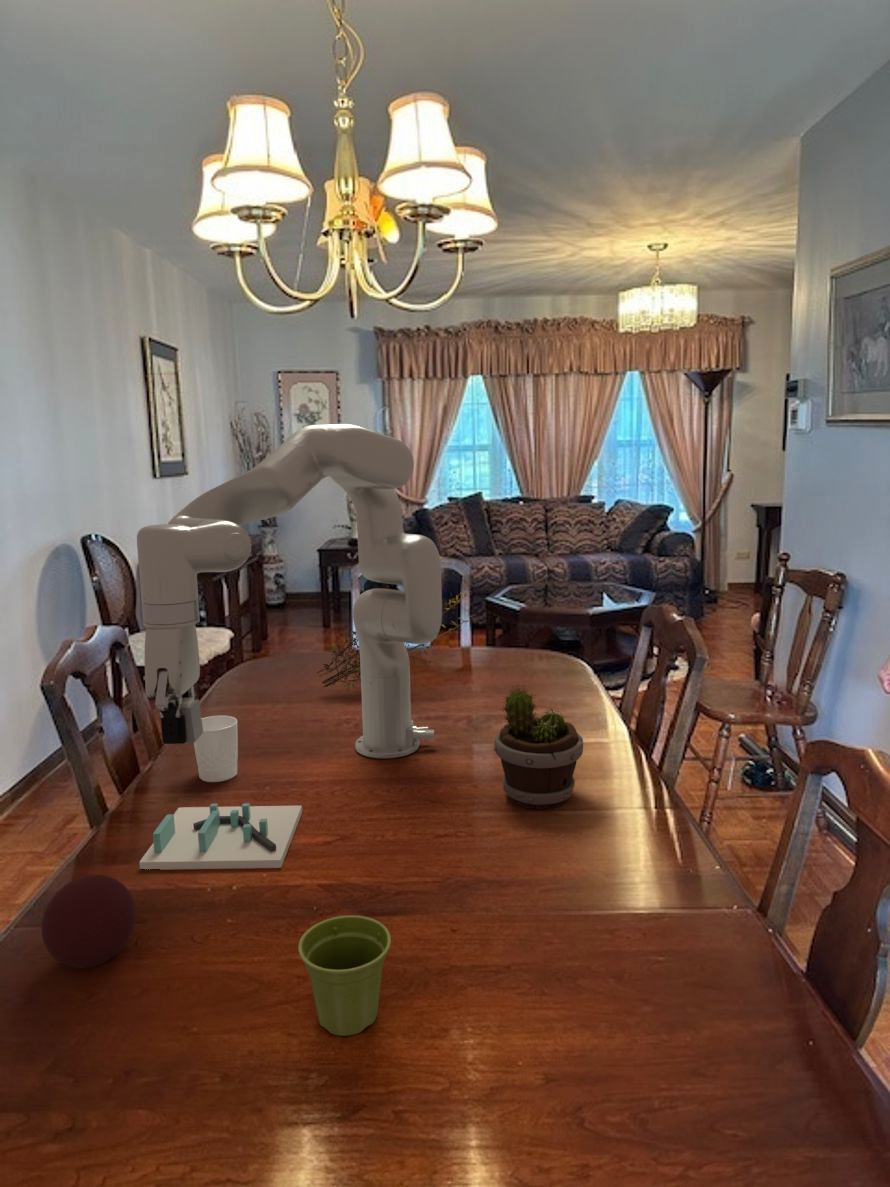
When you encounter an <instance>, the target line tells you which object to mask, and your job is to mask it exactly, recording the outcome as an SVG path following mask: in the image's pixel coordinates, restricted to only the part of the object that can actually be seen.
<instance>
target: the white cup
mask: <svg viewBox="0 0 890 1187" xmlns="http://www.w3.org/2000/svg"><path fill="white" fill-rule="evenodd" d="M201 719H202V726H203V733H202V734H201V736H200V737H199V738H198V739H197V740H196V742H193V746H194V753H195V759H196V763H197V769H198V771H197V772H198V777H199V779H200V780H202V781H203V782H207V783H219V782H226V781H228V780H231V779H233V778H234V777H235V776H237V775H238V759H239V755H238V753H239V745H238V744H239V743H238V742H239V741H238V740H239V739H238V738H239V737H238V735H239V734H238V733H239V732H238V719H237V718H236V717H234V716H231V715H220V714H219V715H211V716H206V717H201Z"/></svg>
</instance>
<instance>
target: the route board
mask: <svg viewBox="0 0 890 1187" xmlns="http://www.w3.org/2000/svg"><path fill="white" fill-rule="evenodd" d="M232 810H238V812H239V816H241V817H243V816H242V805H241V806H218V811H219V814H220V816H230V813H231V811H232ZM250 814H251V818H250V820H247V821H248V822H249V823H250V824H251V825H252V826H253V827H254V828H255V829H256V830H257V831H258V832H260V829H259V821H260V819H267V824H268V835H267V837H266V838H268V839H269V840H270V841H272V842H273V843H275V844H276V851H273V852H270V851H269V850H268V849H266V848H265V847H264V846H263V845H261V844H260V843H259V842H257V841H256V840H255V839H253V838H252V840H251V842H244V839H243V827H242V826H241V825H240V824H239V826H238V827H237V828H231V824H220V826H219V828H218V833H217V835H216V836H215V838H214V840H213V842H212V843H211V845H210V847H209V849H208V850H207V852H199V841H198V832H199V831H200V830H197V831H196V830H195V829H194V824H193V823H196V822H199V821H202V820H205V819H207V818H208V816H209V815H210V806H192V807H191V806H189V807H188V806H184V807H178V808H177V810H176V811H175V812H174V823H175V834H174V835H173V837H172V838H171V840H170V841H169V843H168V844H167V846H166V847H165V848H164V850H163V851H162V853H154V842H153V843H152V844H151V845H150V847H149V848H148V850H147V851H146V852H145V854H143V856H142V858H141V859H140V861H139V862H138V864H139V870H140V869H145V870H144V871H148V869H149V871H151V870H150V869H160V870H161V871H162V870H164V871H165V870H172V871H173V870H220V869H221V870H225V869H226V870H228V869H230V870H232V869H236V870H237V869H279V868H280V869H282V866H283V864H284V862H285V858H286V855H287V854H288V851H289V848H290V845H291V843H292V841H293V838H294V835H295V833H296V830H297V827H298V825H299V821H300V819H301V817H302V814H303V805H258V806H257V805H254V806H253V805H250ZM146 869H147V870H146Z"/></svg>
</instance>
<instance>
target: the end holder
mask: <svg viewBox="0 0 890 1187" xmlns="http://www.w3.org/2000/svg"><path fill="white" fill-rule="evenodd" d="M174 814H175V813H174ZM174 814H173V813H172V814H170V813H169V814H166V815H165V817H164V818H163V819H162V821H160V823H159V825H158V826H157V827H156V828H155V830H154V832H153V833H152V841H153V843H154V853H162V851H163V850H164V848H165V847H166V846H167V844H168V843H169V841H170V840H171V838H172V837H173V835H174V834H175V823H174ZM217 833H218V825H217V814H210V815H209V816H208V818H207V819H206V821H205V823H204V824H203V826H202V827H201V829H200V831H199V832H198V841H199V852H207V850H208V849H209V847H210V845H211V843H212V842H213V840H214V838H215V836H216V835H217Z"/></svg>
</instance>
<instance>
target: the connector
mask: <svg viewBox="0 0 890 1187" xmlns="http://www.w3.org/2000/svg"><path fill="white" fill-rule="evenodd" d="M169 702H173V703H174V705H175V700H169ZM182 715H185V726H186V742H185V743H184V744H187V743H188V744H189V743H194V742H196V740H197V739H198V738H199V737H200V736H201V734H202V733H203V726H202V712H201V705H200V699H195V700H194V697H188V698H182Z"/></svg>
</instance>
